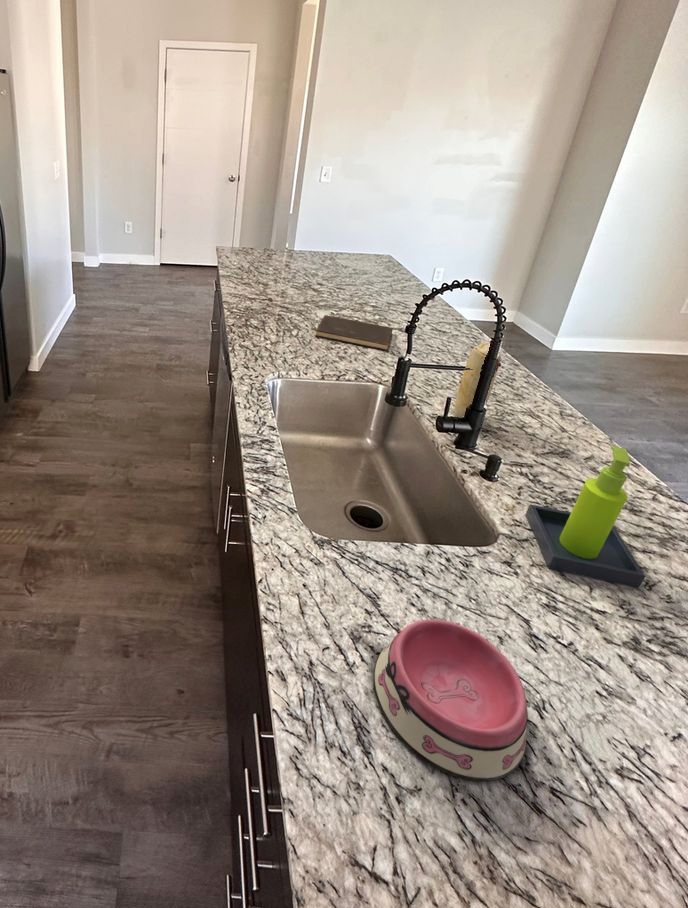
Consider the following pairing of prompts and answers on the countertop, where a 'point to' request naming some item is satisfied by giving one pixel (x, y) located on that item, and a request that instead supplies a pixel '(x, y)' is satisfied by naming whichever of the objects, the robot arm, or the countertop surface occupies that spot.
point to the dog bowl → (453, 700)
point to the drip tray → (606, 566)
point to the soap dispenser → (596, 509)
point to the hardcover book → (354, 332)
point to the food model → (472, 379)
